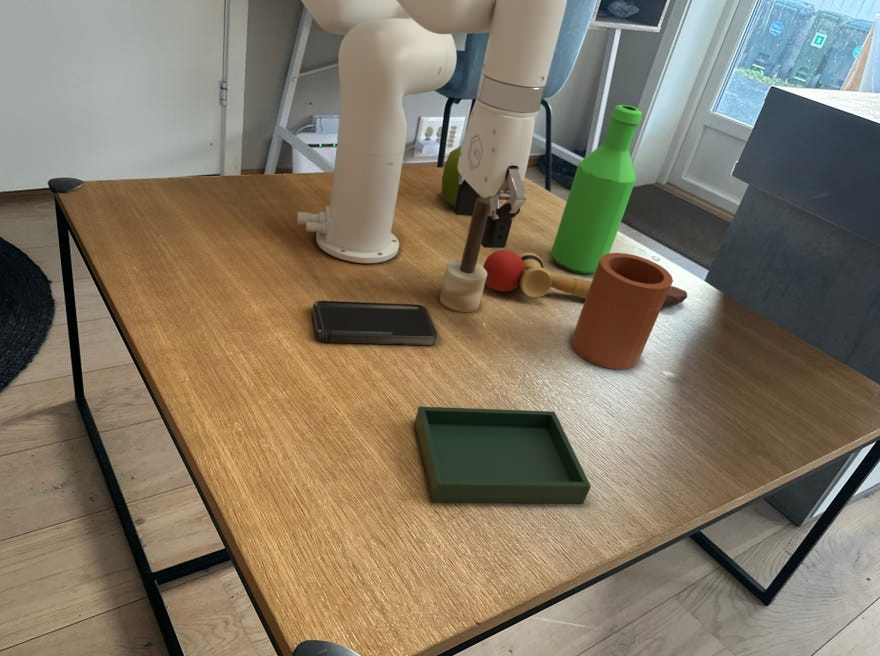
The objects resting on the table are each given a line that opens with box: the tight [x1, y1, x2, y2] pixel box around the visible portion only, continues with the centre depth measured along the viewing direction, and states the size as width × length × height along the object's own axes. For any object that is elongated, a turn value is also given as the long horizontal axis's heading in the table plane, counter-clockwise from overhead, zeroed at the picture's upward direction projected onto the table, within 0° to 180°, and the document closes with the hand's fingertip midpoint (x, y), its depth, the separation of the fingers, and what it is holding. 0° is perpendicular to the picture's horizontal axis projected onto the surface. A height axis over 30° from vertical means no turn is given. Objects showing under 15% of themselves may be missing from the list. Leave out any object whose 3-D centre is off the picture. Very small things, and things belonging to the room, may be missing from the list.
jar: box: [571, 252, 674, 370], centre depth 90 cm, size 9×9×12 cm
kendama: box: [482, 248, 592, 300], centre depth 102 cm, size 8×6×18 cm
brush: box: [439, 197, 491, 313], centre depth 94 cm, size 6×6×15 cm
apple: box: [441, 145, 503, 209], centre depth 125 cm, size 11×11×11 cm
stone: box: [661, 285, 688, 309], centre depth 107 cm, size 7×7×3 cm
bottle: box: [551, 104, 643, 275], centre depth 108 cm, size 9×9×25 cm
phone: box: [311, 300, 438, 346], centre depth 88 cm, size 8×1×15 cm
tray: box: [414, 406, 592, 504], centre depth 71 cm, size 15×11×2 cm
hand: (478, 229), depth 92 cm, fingers open, 9 cm apart
